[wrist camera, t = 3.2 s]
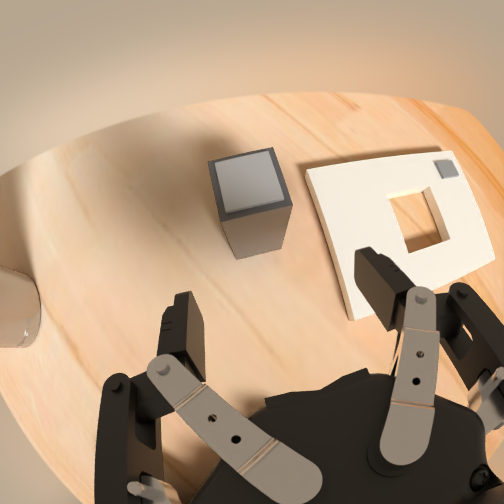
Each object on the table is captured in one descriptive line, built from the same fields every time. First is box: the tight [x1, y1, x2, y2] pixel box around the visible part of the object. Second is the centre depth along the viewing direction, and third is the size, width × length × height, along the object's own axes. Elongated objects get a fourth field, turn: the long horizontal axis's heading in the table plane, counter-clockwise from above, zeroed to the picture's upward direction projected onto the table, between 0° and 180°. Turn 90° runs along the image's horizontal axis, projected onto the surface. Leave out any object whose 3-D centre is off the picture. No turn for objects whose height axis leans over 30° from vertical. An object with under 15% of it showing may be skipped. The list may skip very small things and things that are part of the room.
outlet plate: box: [305, 151, 495, 321], centre depth 23 cm, size 20×14×2 cm
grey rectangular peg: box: [208, 147, 293, 260], centre depth 19 cm, size 4×4×10 cm
